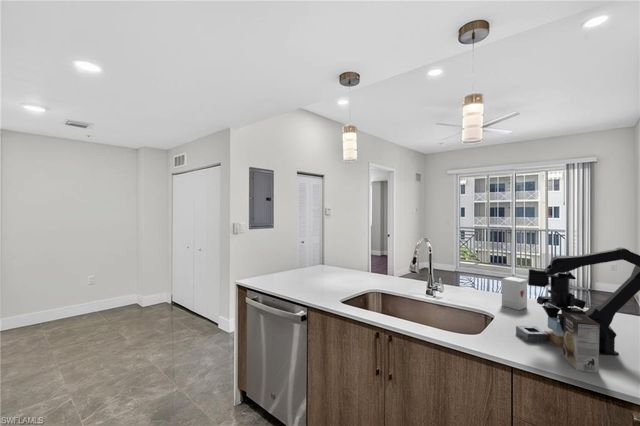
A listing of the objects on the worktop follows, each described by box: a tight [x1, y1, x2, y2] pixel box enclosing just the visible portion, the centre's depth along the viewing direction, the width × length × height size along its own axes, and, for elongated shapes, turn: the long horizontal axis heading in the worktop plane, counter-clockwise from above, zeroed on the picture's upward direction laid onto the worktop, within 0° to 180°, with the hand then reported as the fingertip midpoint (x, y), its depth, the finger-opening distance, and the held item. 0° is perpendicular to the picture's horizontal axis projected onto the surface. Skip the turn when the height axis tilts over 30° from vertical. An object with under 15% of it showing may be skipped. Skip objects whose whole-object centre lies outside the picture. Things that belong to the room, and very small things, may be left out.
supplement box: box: [501, 276, 528, 311], centre depth 162 cm, size 9×9×15 cm
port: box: [515, 325, 550, 343], centre depth 123 cm, size 8×8×3 cm
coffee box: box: [562, 313, 600, 374], centre depth 102 cm, size 9×6×16 cm
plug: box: [547, 316, 564, 337], centre depth 119 cm, size 5×6×8 cm
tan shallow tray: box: [543, 330, 564, 348], centre depth 119 cm, size 7×7×3 cm
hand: (559, 328), depth 119 cm, fingers closed on plug, 5 cm apart
